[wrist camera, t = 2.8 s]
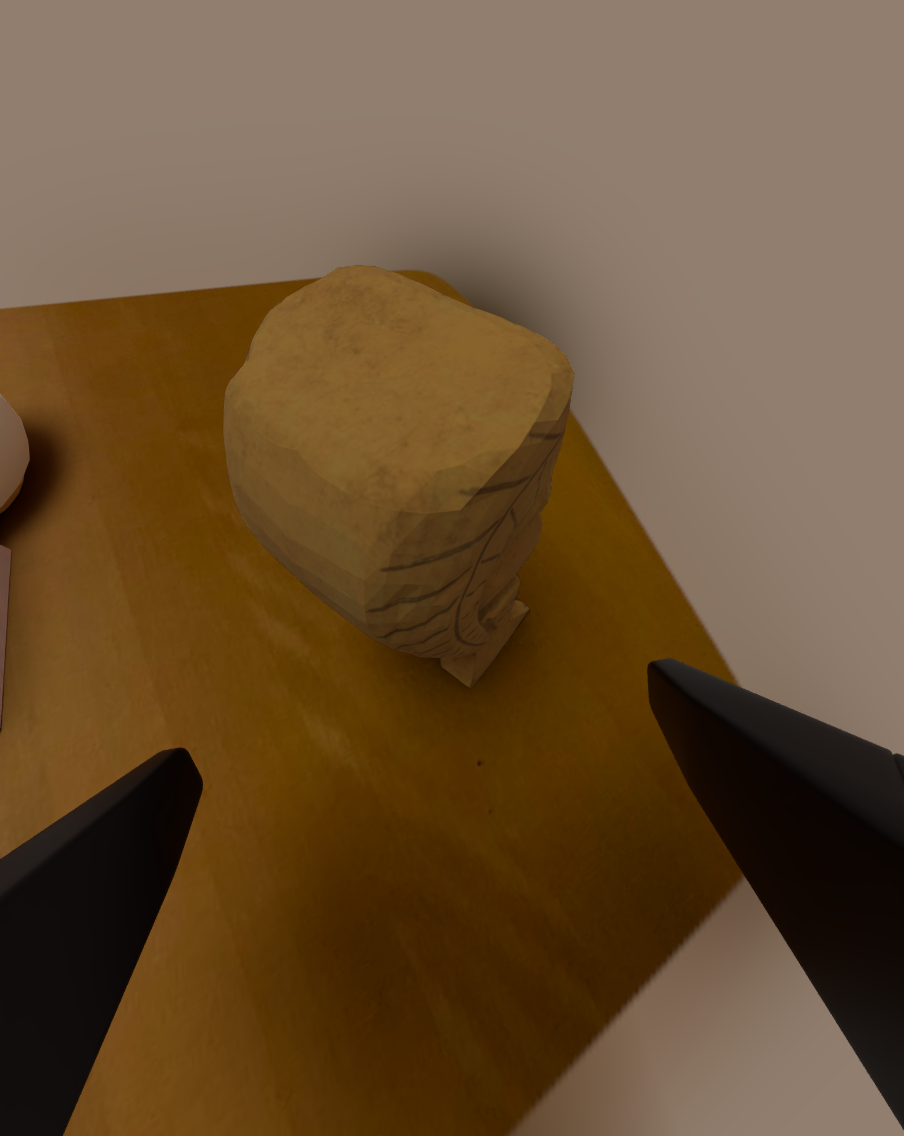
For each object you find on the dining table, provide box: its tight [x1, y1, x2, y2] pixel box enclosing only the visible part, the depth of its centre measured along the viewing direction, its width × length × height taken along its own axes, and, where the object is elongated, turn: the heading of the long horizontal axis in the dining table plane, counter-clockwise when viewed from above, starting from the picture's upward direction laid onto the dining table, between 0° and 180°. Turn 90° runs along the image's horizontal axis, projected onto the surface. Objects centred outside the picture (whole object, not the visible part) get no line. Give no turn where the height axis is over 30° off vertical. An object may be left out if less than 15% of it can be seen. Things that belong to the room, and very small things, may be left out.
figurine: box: [223, 265, 574, 688], centre depth 15 cm, size 7×7×15 cm
